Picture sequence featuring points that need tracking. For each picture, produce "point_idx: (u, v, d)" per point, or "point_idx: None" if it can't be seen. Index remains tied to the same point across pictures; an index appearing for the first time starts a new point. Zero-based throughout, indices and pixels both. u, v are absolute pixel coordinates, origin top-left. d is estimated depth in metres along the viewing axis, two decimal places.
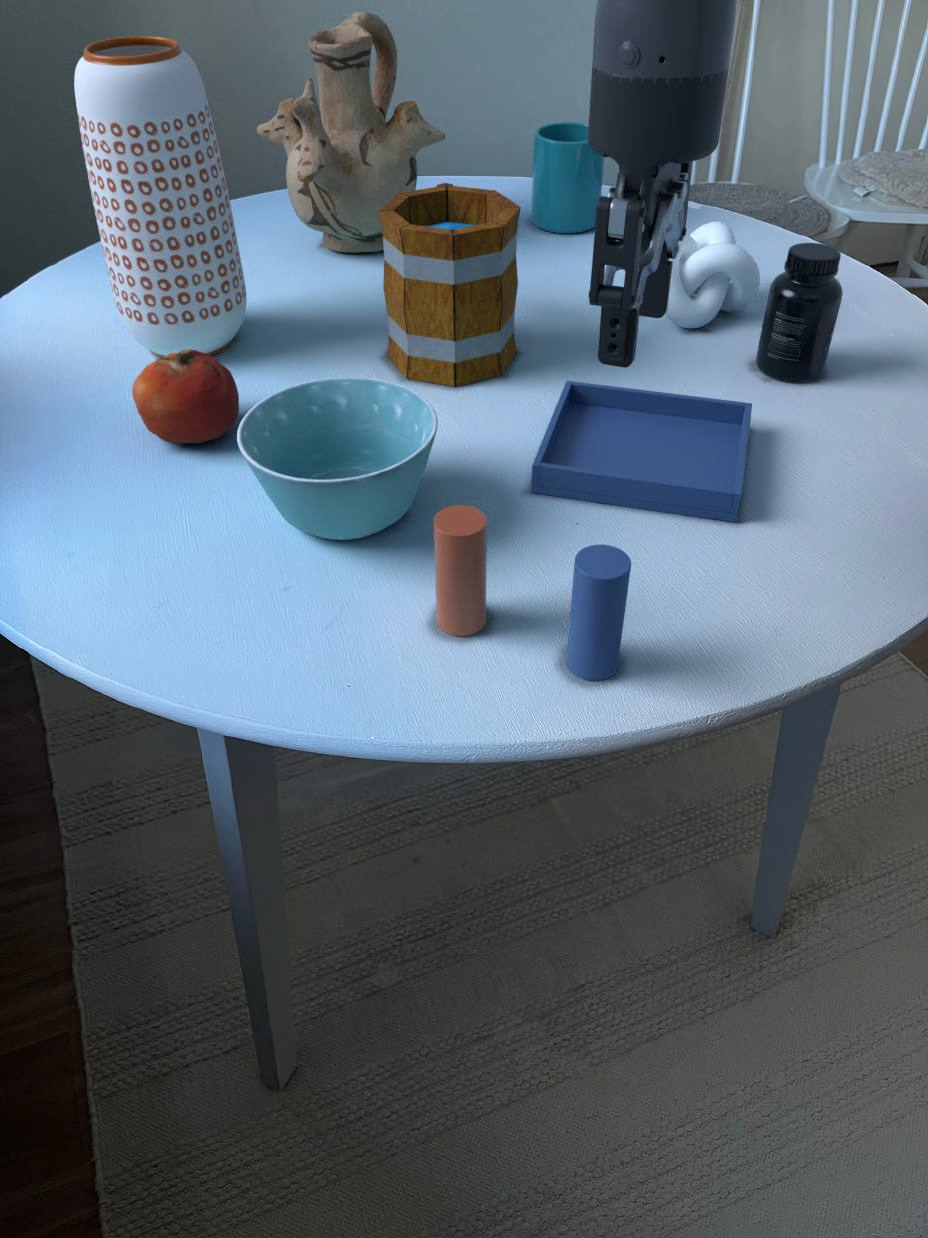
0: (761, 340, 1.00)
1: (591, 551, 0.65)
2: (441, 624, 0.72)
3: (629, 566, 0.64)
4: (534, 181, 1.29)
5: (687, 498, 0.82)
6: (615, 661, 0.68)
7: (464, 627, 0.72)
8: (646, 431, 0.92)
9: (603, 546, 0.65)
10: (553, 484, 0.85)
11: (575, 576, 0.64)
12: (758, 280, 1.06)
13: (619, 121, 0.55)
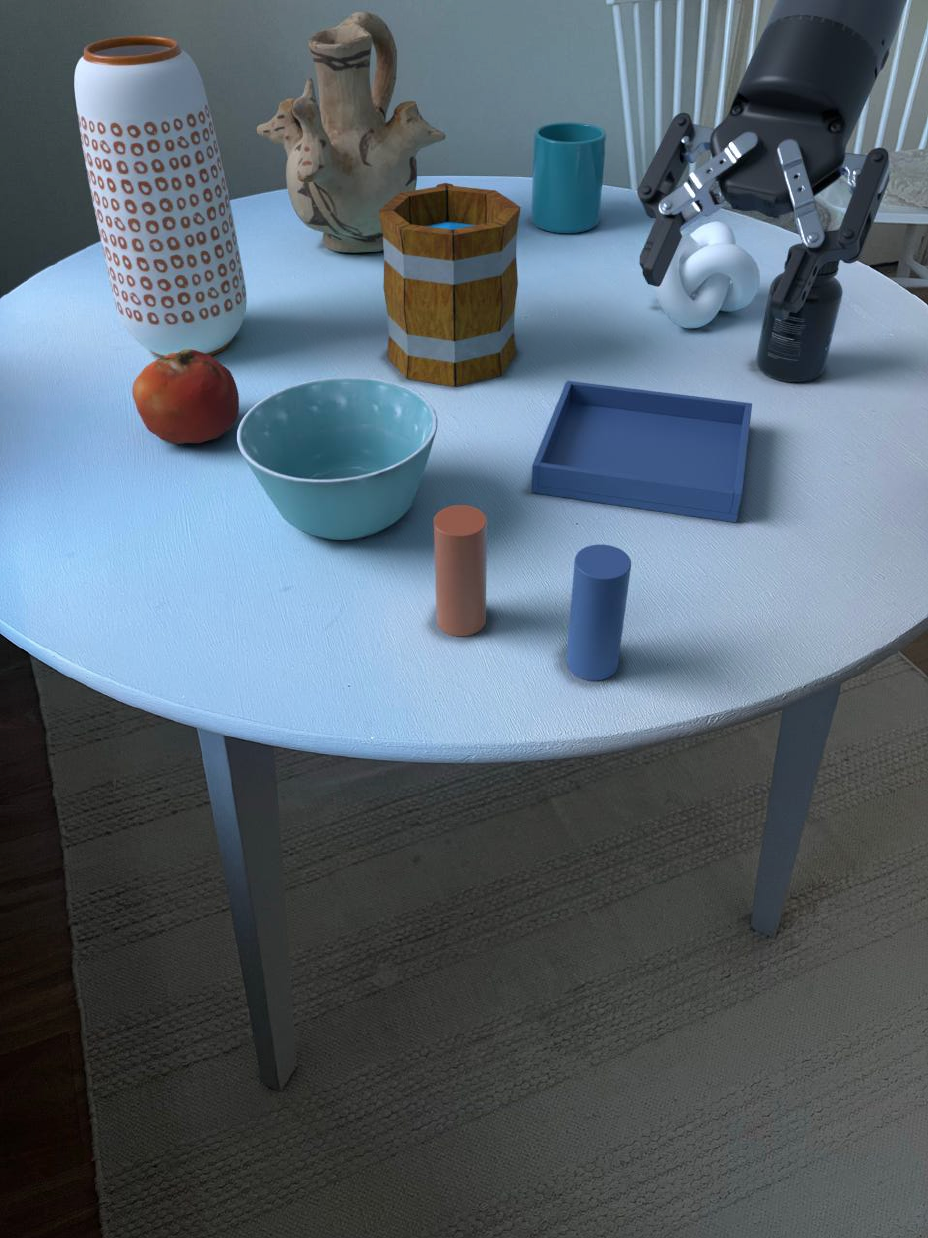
0: (761, 340, 1.00)
1: (591, 551, 0.65)
2: (441, 624, 0.72)
3: (629, 566, 0.64)
4: (534, 181, 1.29)
5: (687, 498, 0.82)
6: (615, 661, 0.68)
7: (464, 627, 0.72)
8: (646, 431, 0.92)
9: (603, 546, 0.65)
10: (553, 484, 0.85)
11: (575, 576, 0.64)
12: (758, 280, 1.06)
13: None
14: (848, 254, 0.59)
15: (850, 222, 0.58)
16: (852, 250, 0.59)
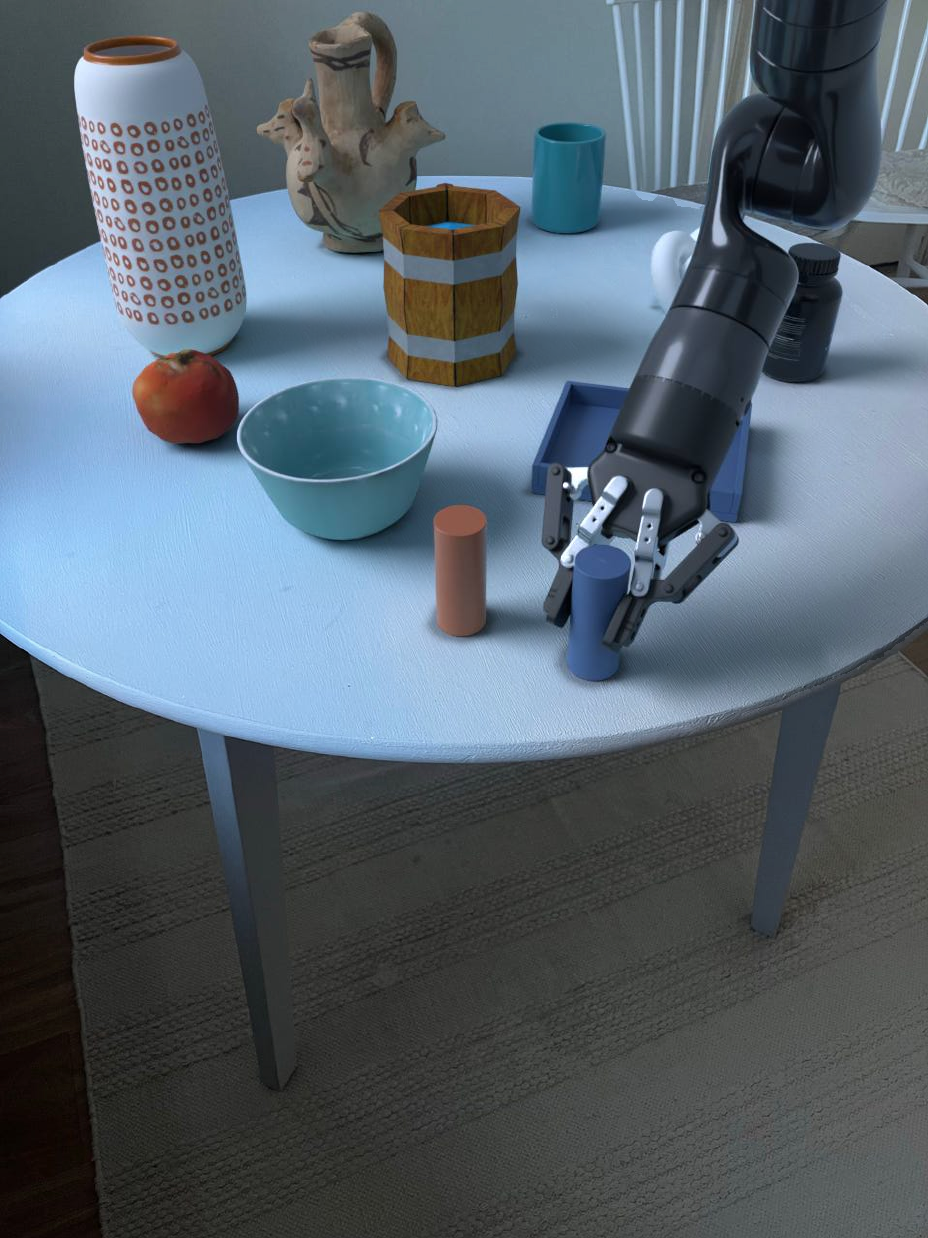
0: None
1: (591, 551, 0.65)
2: (441, 624, 0.72)
3: (629, 566, 0.64)
4: (534, 181, 1.29)
5: None
6: (615, 661, 0.68)
7: (464, 627, 0.72)
8: None
9: (603, 546, 0.65)
10: None
11: (575, 576, 0.64)
12: None
13: None
14: (672, 600, 0.64)
15: (675, 578, 0.63)
16: (671, 599, 0.64)
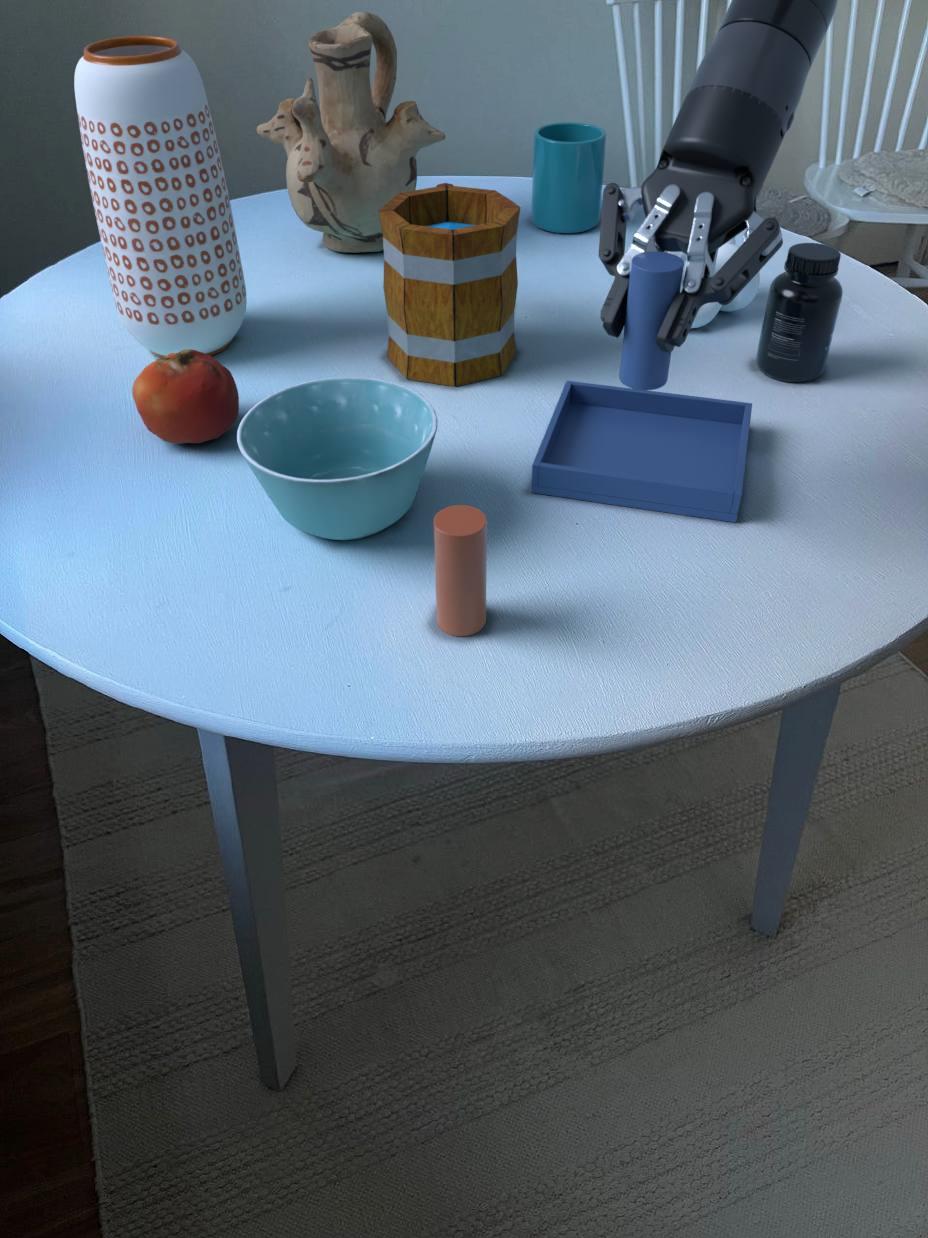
0: (761, 340, 1.00)
1: (646, 255, 0.70)
2: (441, 624, 0.72)
3: (682, 264, 0.69)
4: (534, 181, 1.29)
5: (687, 498, 0.82)
6: (665, 371, 0.74)
7: (464, 627, 0.72)
8: (646, 431, 0.92)
9: (657, 252, 0.71)
10: (553, 484, 0.85)
11: (632, 276, 0.70)
12: (758, 280, 1.06)
13: None
14: (721, 297, 0.69)
15: (725, 272, 0.68)
16: (720, 295, 0.69)
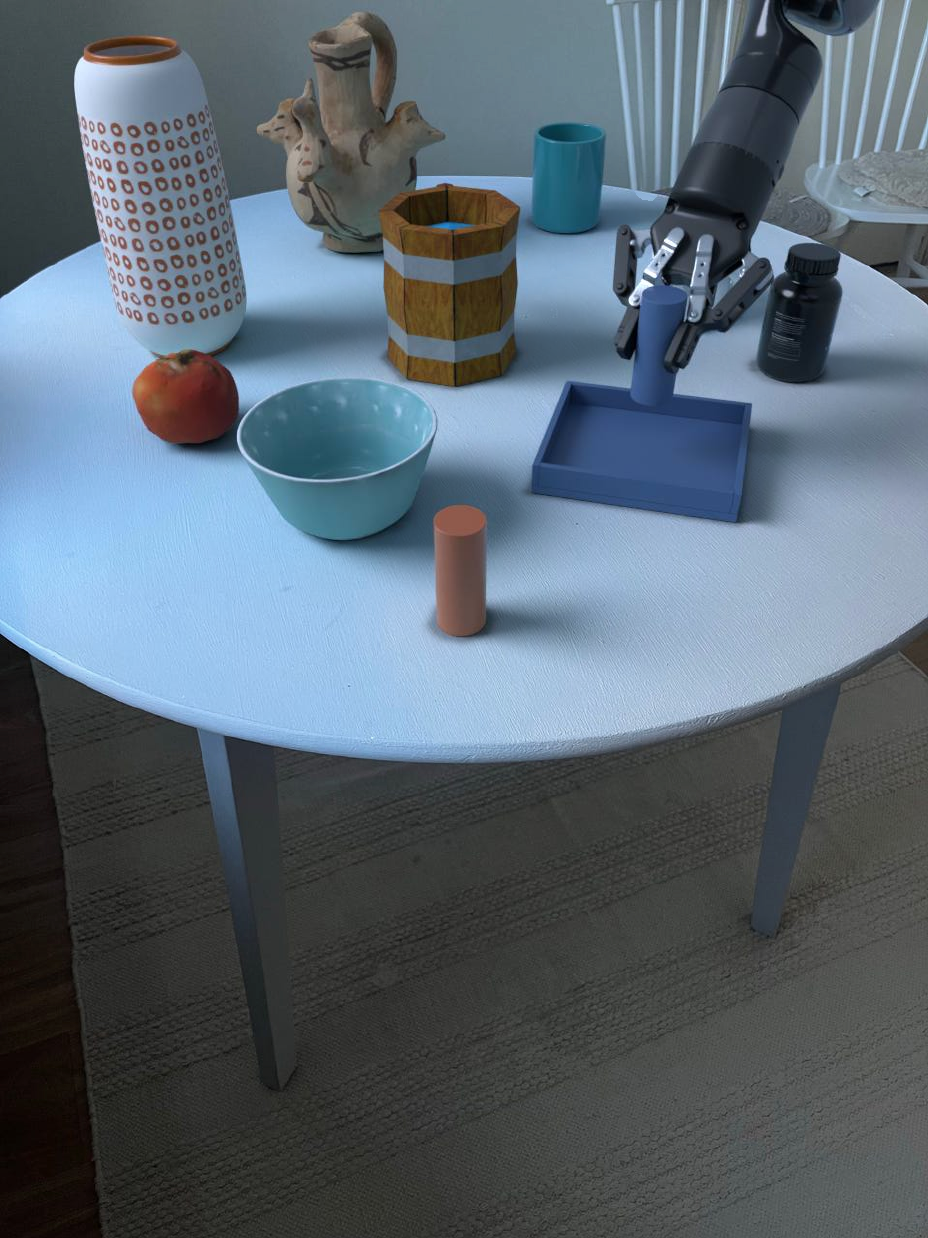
0: (761, 340, 1.00)
1: (655, 288, 0.80)
2: (441, 624, 0.72)
3: (686, 297, 0.79)
4: (534, 181, 1.29)
5: (687, 498, 0.82)
6: (671, 389, 0.84)
7: (464, 627, 0.72)
8: (646, 431, 0.92)
9: (664, 286, 0.81)
10: (553, 484, 0.85)
11: (642, 307, 0.80)
12: None
13: None
14: (720, 326, 0.79)
15: (723, 304, 0.78)
16: (719, 324, 0.79)
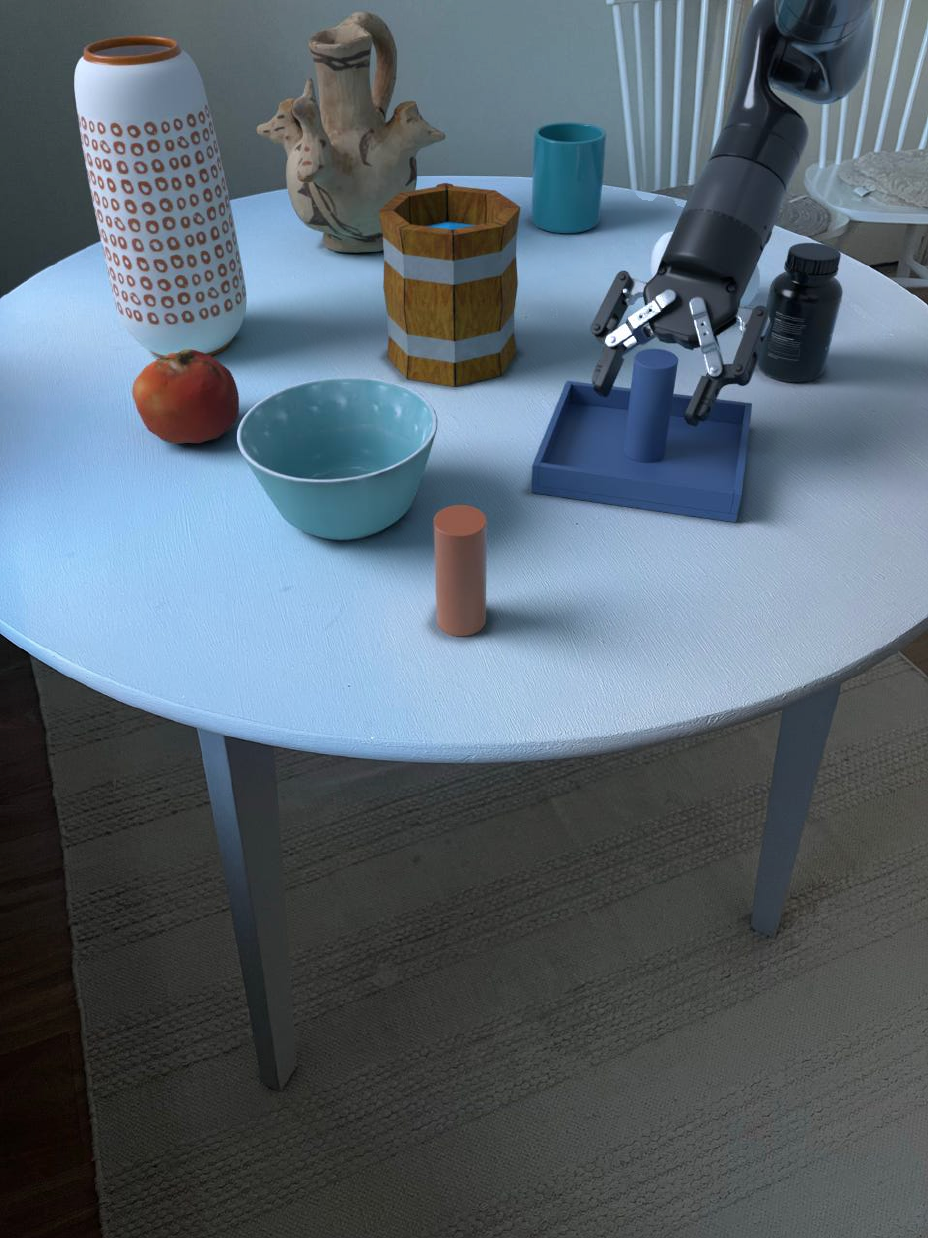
0: None
1: (647, 352, 0.84)
2: (441, 624, 0.72)
3: (677, 361, 0.83)
4: (534, 181, 1.29)
5: (687, 498, 0.82)
6: (663, 446, 0.87)
7: (464, 627, 0.72)
8: None
9: (656, 349, 0.84)
10: (553, 484, 0.85)
11: (635, 370, 0.83)
12: (758, 280, 1.06)
13: None
14: (740, 380, 0.82)
15: (740, 359, 0.81)
16: (742, 378, 0.81)
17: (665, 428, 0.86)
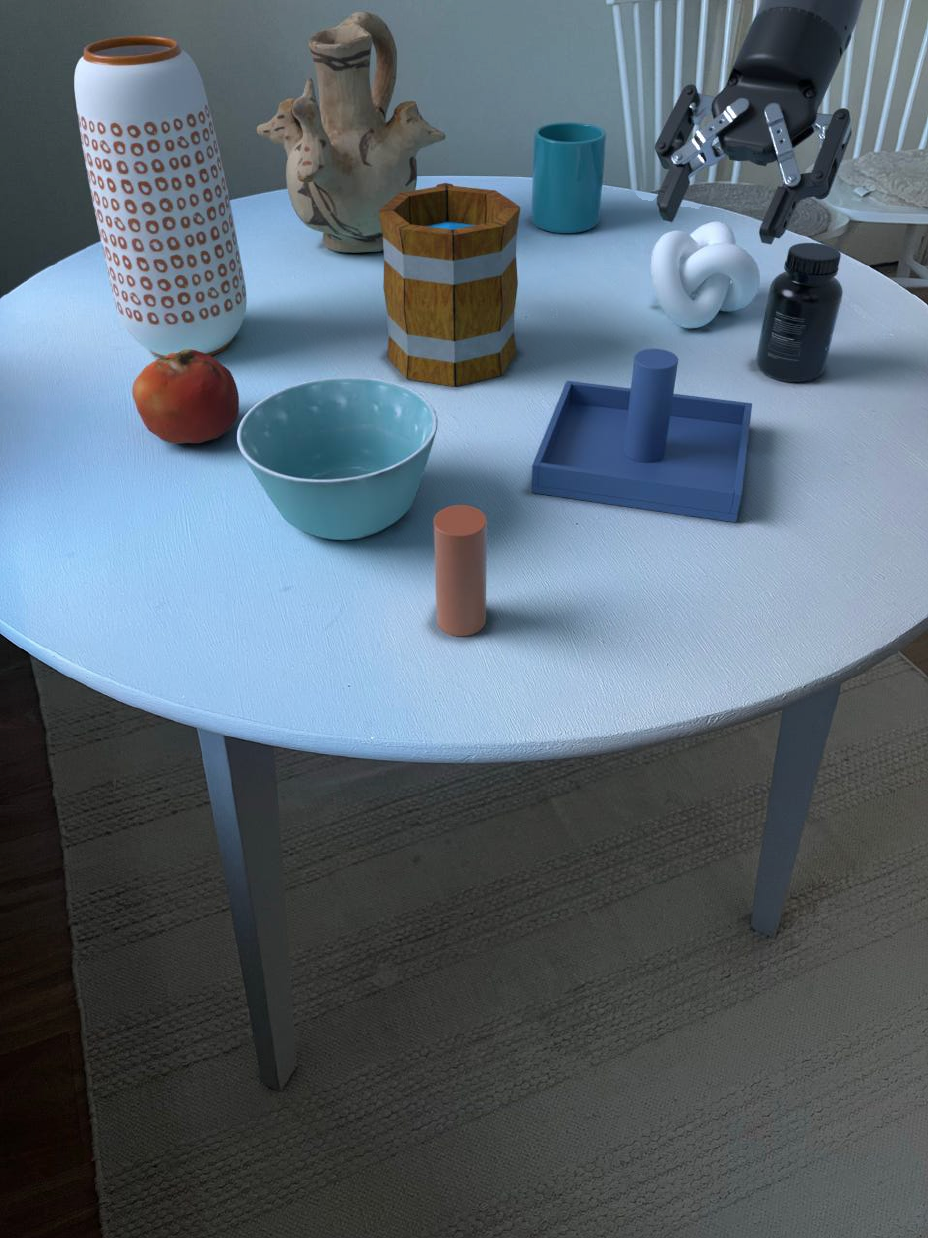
0: (761, 340, 1.00)
1: (647, 352, 0.84)
2: (441, 624, 0.72)
3: (677, 361, 0.83)
4: (534, 181, 1.29)
5: (687, 498, 0.82)
6: (663, 446, 0.87)
7: (464, 627, 0.72)
8: None
9: (656, 349, 0.84)
10: (553, 484, 0.85)
11: (635, 370, 0.83)
12: (758, 280, 1.06)
13: None
14: (819, 191, 0.76)
15: (820, 165, 0.75)
16: (822, 188, 0.76)
17: (665, 428, 0.86)
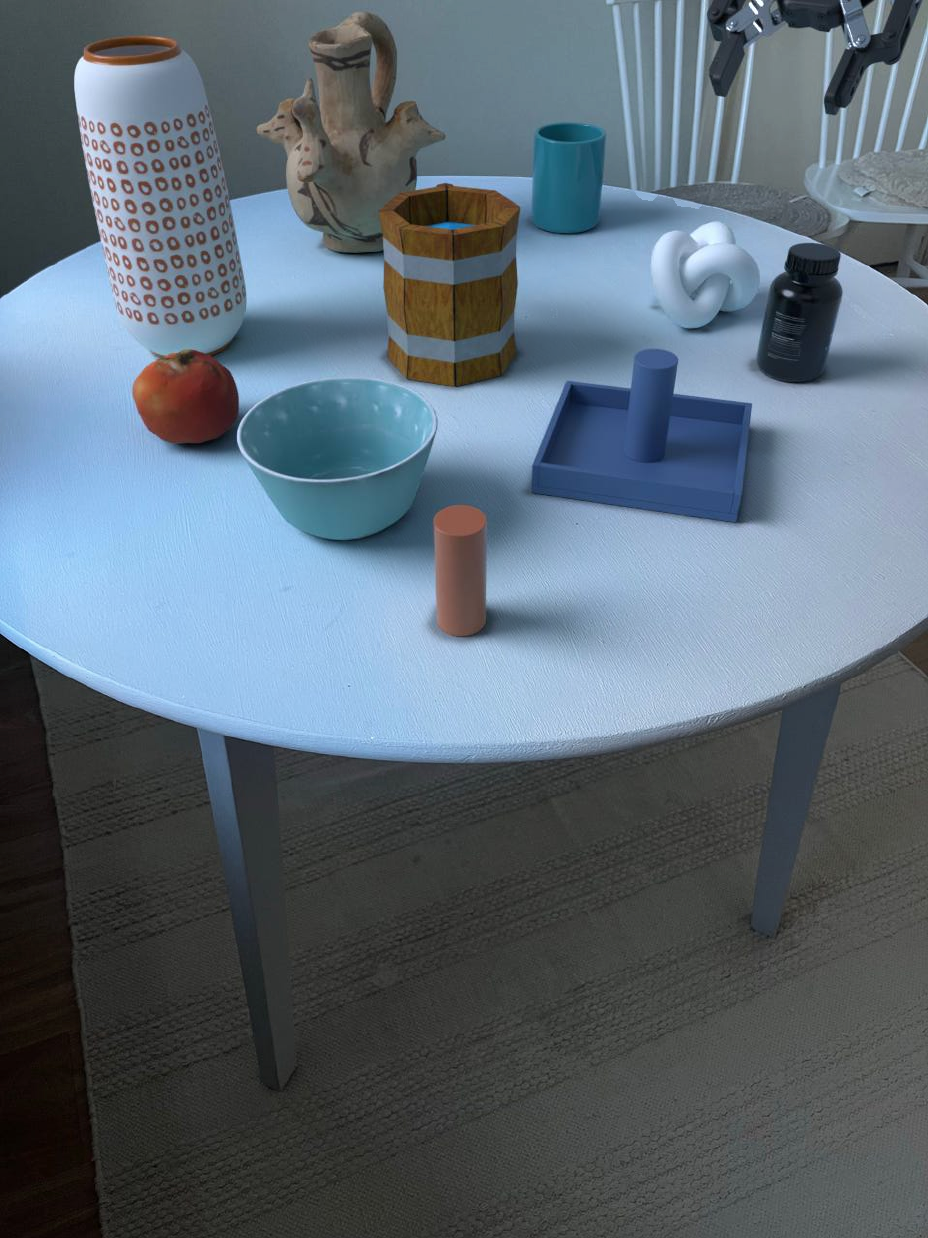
0: (761, 340, 1.00)
1: (647, 352, 0.84)
2: (441, 624, 0.72)
3: (677, 361, 0.83)
4: (534, 181, 1.29)
5: (687, 498, 0.82)
6: (663, 446, 0.87)
7: (464, 627, 0.72)
8: None
9: (656, 349, 0.84)
10: (553, 484, 0.85)
11: (635, 370, 0.83)
12: (758, 280, 1.06)
13: None
14: (890, 53, 0.70)
15: (892, 24, 0.69)
16: (894, 49, 0.69)
17: (665, 428, 0.86)
